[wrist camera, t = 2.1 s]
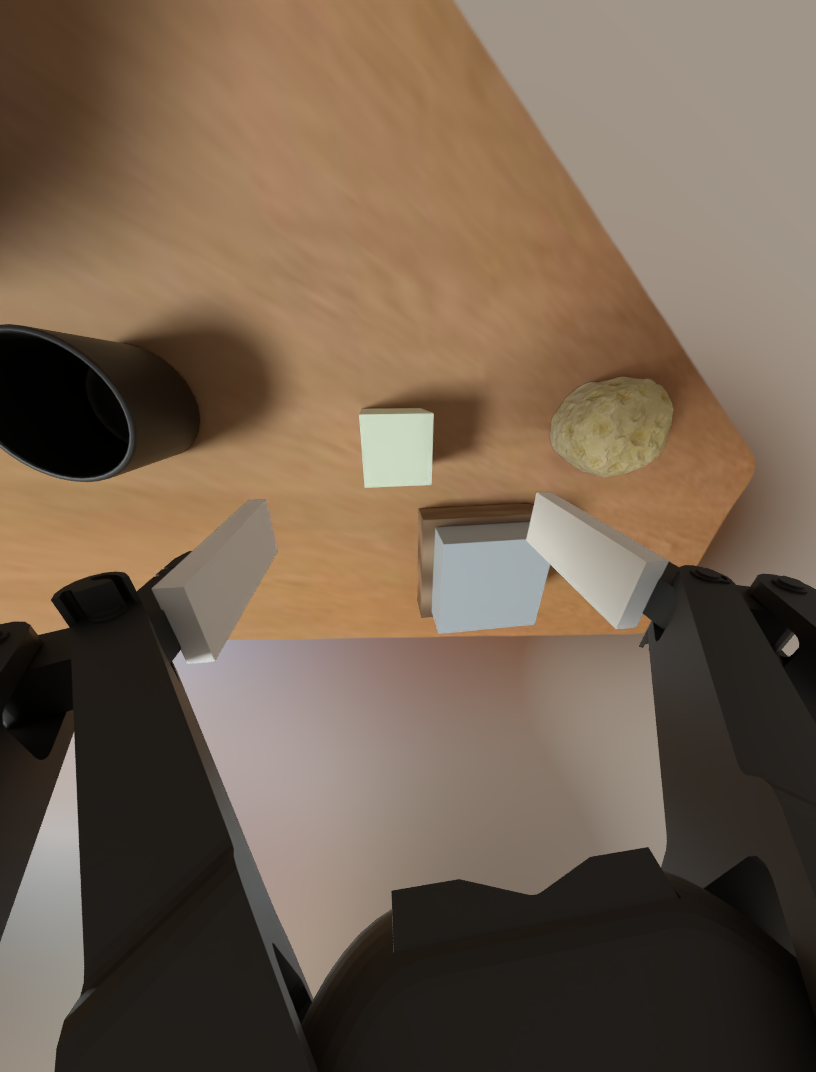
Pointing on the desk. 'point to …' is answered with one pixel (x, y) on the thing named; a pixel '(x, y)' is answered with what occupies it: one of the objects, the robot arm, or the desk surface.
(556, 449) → the decorative item
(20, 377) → the mug
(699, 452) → the desk surface
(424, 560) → the bottom slab
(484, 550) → the top slab
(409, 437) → the block
